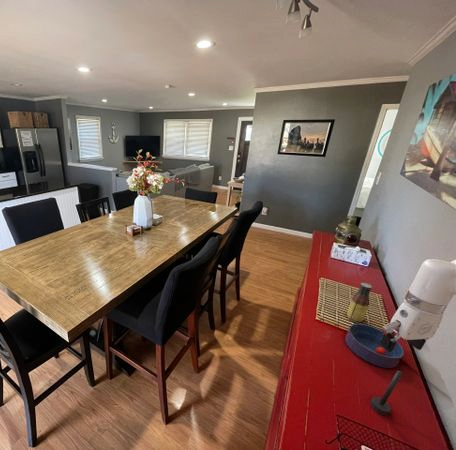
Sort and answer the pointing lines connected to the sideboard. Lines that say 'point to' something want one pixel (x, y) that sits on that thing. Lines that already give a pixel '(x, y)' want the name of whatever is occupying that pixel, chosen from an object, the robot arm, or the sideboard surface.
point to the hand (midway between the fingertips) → (399, 346)
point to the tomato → (381, 351)
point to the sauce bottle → (359, 303)
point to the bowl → (372, 346)
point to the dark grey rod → (385, 397)
